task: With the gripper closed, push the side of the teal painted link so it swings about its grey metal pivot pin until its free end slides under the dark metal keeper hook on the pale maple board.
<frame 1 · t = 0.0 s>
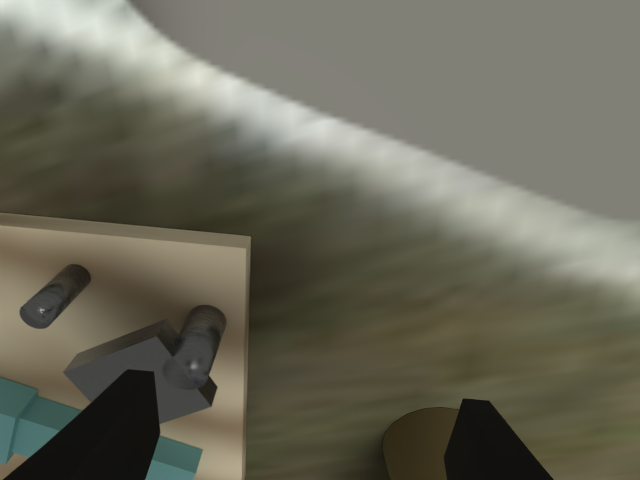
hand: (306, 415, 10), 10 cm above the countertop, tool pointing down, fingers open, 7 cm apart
keeper: (146, 323, 19), resting on base board
cork: (433, 441, 25), on the countertop
base board: (110, 385, 24), on the countertop
link: (73, 443, 23), point 2 cm above the countertop, hinge at 0.0°
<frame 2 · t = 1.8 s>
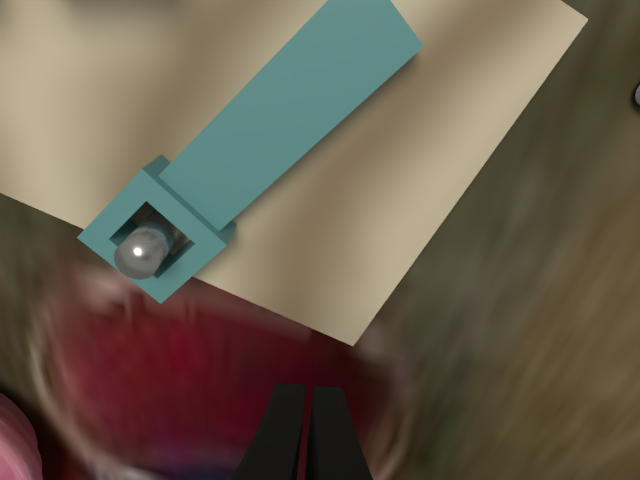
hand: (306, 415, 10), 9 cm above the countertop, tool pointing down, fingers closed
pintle: (154, 239, 16), on the base board, point 3 cm above the countertop
base board: (215, 80, 16), on the countertop
link: (243, 151, 15), point 2 cm above the countertop, hinge at 0.0°
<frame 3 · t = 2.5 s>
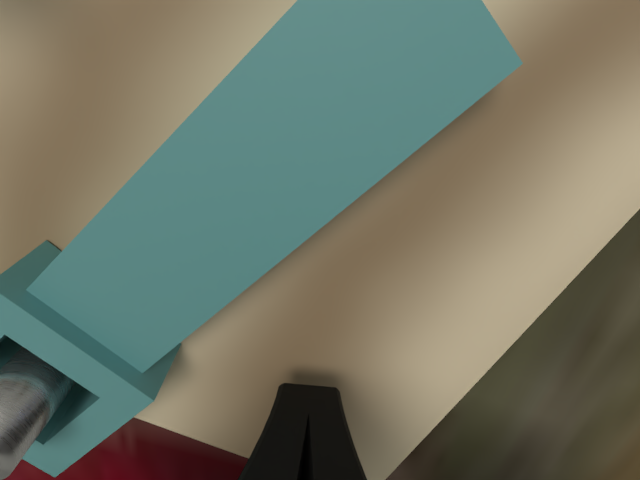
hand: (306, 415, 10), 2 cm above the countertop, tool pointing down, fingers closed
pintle: (31, 386, 9), on the base board, point 3 cm above the countertop
base board: (139, 116, 9), on the countertop
link: (178, 245, 8), point 2 cm above the countertop, hinge at 0.0°
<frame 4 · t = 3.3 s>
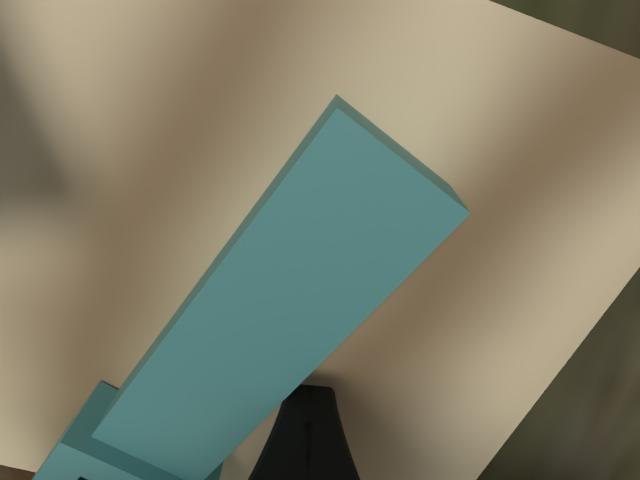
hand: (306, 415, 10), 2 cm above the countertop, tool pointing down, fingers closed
base board: (162, 263, 11), on the countertop
link: (208, 380, 10), point 2 cm above the countertop, hinge at 1.1°, touching gripper
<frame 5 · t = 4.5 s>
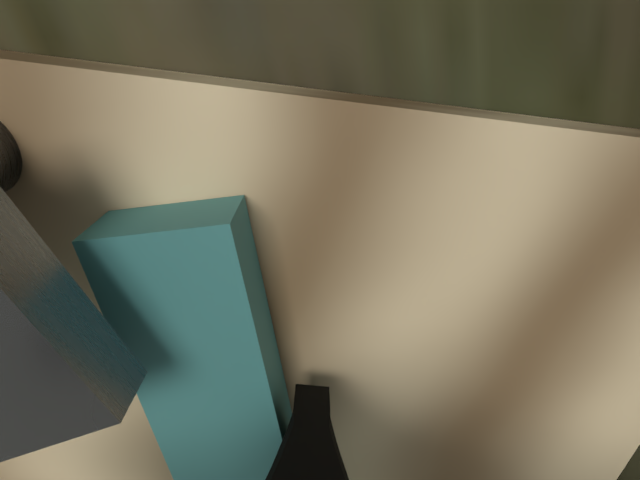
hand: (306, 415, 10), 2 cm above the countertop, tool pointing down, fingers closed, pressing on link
base board: (273, 366, 12), on the countertop
link: (236, 459, 11), point 2 cm above the countertop, hinge at 34.1°, touching gripper
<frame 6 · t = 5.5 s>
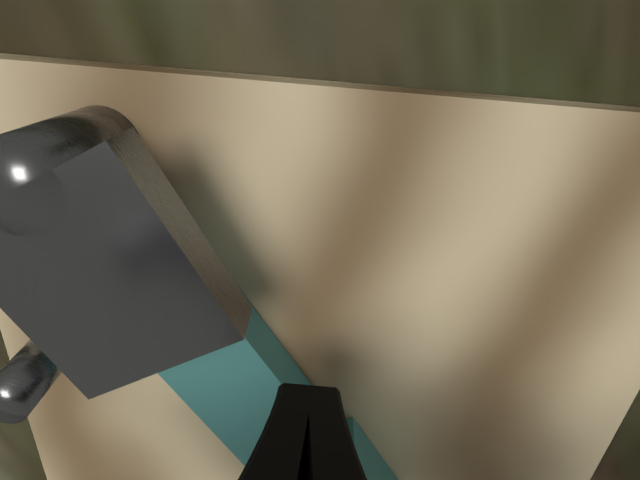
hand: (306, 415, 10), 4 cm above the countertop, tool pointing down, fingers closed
keeper: (81, 249, 11), resting on base board
base board: (329, 322, 14), on the countertop
link: (258, 406, 13), point 2 cm above the countertop, hinge at 53.6°
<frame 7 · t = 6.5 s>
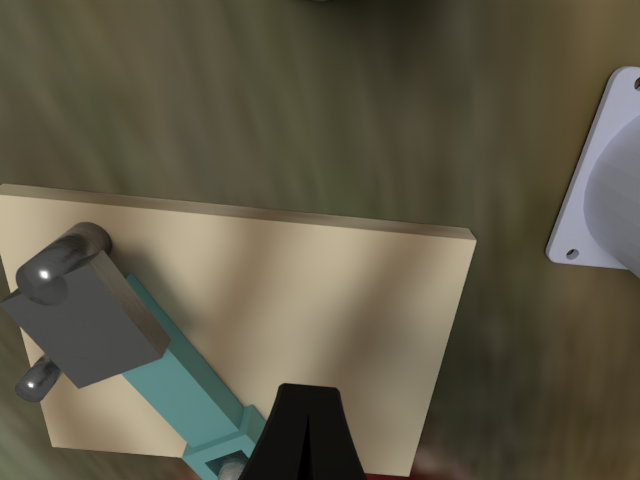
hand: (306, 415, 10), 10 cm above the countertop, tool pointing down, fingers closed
keeper: (76, 302, 18), resting on base board
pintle: (235, 465, 22), on the base board, point 3 cm above the countertop
base board: (237, 342, 22), on the countertop
link: (186, 396, 21), point 2 cm above the countertop, hinge at 53.6°
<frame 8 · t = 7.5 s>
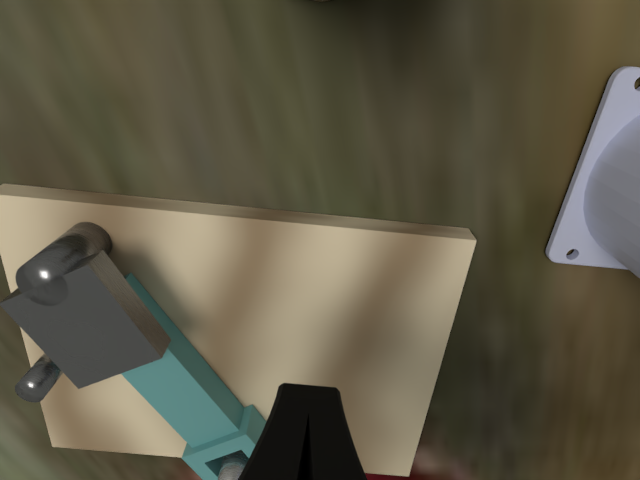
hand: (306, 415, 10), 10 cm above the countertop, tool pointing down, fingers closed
keeper: (76, 302, 18), resting on base board
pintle: (235, 465, 22), on the base board, point 3 cm above the countertop
base board: (237, 342, 22), on the countertop
link: (186, 396, 21), point 2 cm above the countertop, hinge at 53.6°
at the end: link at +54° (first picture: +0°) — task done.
